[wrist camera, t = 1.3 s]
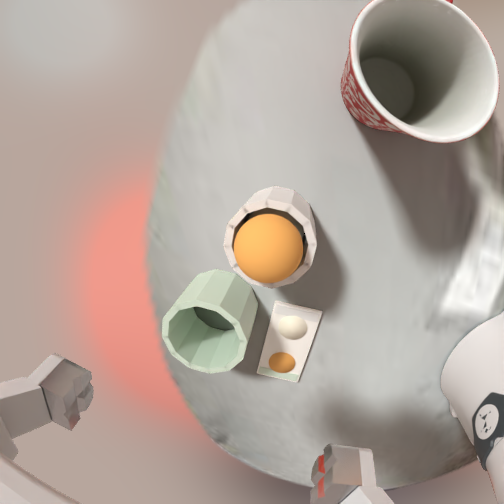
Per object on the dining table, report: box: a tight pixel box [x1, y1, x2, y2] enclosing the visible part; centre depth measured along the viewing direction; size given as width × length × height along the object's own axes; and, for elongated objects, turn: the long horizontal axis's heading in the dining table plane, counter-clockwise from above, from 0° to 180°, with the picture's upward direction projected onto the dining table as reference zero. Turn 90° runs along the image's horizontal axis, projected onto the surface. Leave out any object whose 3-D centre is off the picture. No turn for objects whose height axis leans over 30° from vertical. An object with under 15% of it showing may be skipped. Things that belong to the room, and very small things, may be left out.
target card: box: [257, 300, 322, 382], centre depth 35 cm, size 5×10×1 cm, turn 170°
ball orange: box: [234, 214, 303, 283], centre depth 24 cm, size 5×5×5 cm
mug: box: [341, 0, 499, 143], centre depth 18 cm, size 13×9×14 cm
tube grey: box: [224, 186, 317, 288], centre depth 27 cm, size 7×7×7 cm
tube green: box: [162, 269, 258, 374], centre depth 31 cm, size 8×8×7 cm
